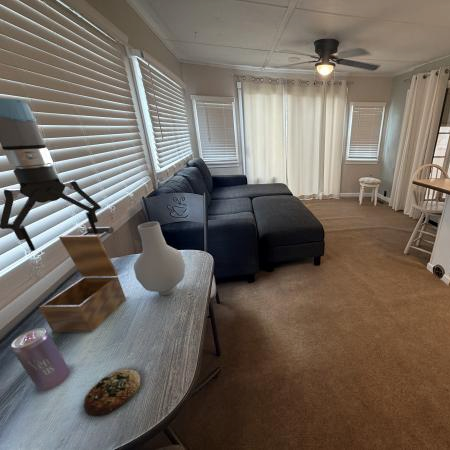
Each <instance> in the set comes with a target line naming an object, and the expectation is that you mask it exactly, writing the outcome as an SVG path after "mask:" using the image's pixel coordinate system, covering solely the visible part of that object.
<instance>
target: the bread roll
mask: <svg viewBox="0 0 450 450" xmlns="http://www.w3.org/2000/svg"><path fill="white" fill-rule="evenodd" d="M140 387H141V376H140V374H139V372H138V371H136V370H133V369H121V370H116V371H114V372H112V373H110V374H109V375H107V376H105V377H103V378H102V379H100V380H98V382H97V383H96V384H95V385H93V386H92V388H90V390H89V391H88V393H87V394H86V396H85V397H84V403H83V408H84V412H85V414H87V415H88V416H91V417H95V418H96V417H103V416H107V415H109V414H111V413H113V412H115V411H116V410H118V409H120V408H121V407H122V406H124V405H125V404H126V403H127V402H128V401H129V400H130V399H131V398H133V397H134V396H135V394H136V393H137V392H138V390H139V389H140Z"/></svg>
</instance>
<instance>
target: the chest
mask: <svg viewBox="0 0 450 450" xmlns="http://www.w3.org/2000/svg"><path fill="white" fill-rule="evenodd" d="M126 300H127V299H126V295H125V292H124V290H123V287H122V284H121V281H120V279H119V277H118V276H105V277H98V276H87V277H82V278H80V279H78V280H77V281H75V282H74V283H72V284H70V285H69V286H68V287H67V288H66V289H63V291H60V292H59V293H57V294H55V296H53V297H52V298H50V299H48V300H47V301H46V302H44V303H43V304H41V305H40V306H39V307H38V308H39V310H40V312H41V313H42V315H43V317H44V320H45V322H46V323H47V324H48V326H49V328H50V330H51V331H52V333H92V332H93V331H95V329H96V328H97V327H99V325H101V324H102V322H103V321H105V320H106V319H107V318H108V317H109V316H110V315H111V314H112V313H113V312H114V311H115V310H116V309H118V307H120V305H122V304H123V302H124V301H126Z"/></svg>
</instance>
